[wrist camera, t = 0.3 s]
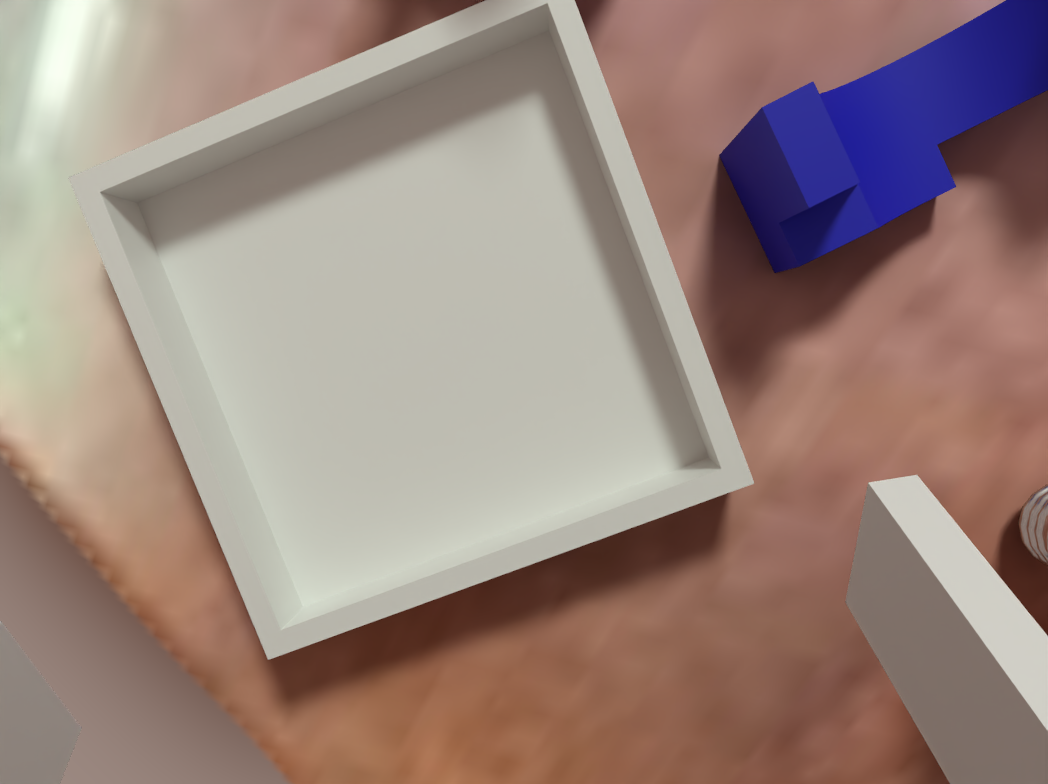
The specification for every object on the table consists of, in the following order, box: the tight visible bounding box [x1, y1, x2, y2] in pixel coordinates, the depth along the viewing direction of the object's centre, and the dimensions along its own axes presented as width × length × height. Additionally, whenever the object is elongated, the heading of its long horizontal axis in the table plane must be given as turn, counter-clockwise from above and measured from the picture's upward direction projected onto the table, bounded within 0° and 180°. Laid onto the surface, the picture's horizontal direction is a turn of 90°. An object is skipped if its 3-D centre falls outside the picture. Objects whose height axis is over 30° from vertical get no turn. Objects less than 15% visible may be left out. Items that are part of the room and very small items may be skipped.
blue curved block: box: [719, 0, 1048, 273], centre depth 24 cm, size 12×4×6 cm, turn 116°
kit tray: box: [68, 0, 754, 660], centre depth 26 cm, size 17×17×3 cm
